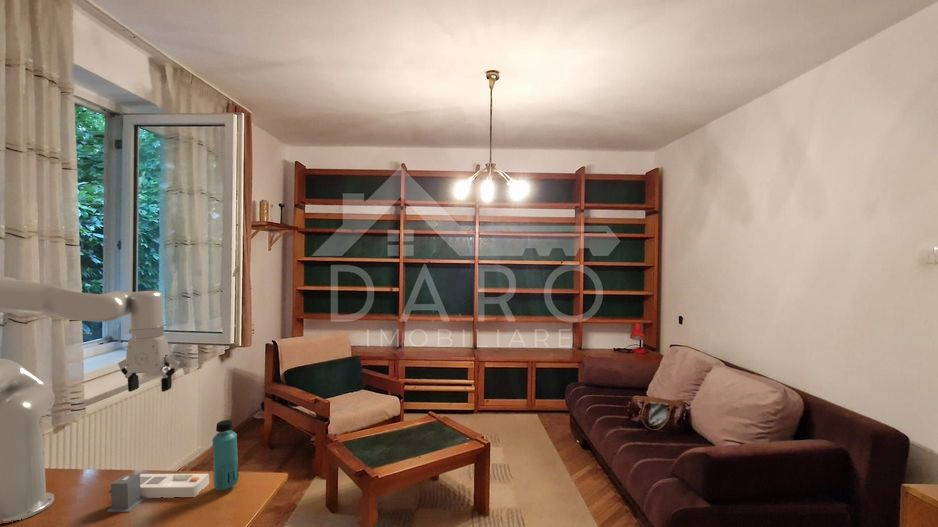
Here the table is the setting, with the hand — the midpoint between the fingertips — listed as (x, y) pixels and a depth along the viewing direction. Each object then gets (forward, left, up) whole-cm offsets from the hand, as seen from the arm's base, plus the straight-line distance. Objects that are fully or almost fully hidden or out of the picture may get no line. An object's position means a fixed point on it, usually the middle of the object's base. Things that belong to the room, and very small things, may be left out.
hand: (150, 390), depth 125 cm
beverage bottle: (+22, +9, -28) cm, 37 cm away
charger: (+6, -9, -28) cm, 30 cm away
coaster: (+6, -9, -28) cm, 30 cm away
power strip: (+5, -2, -28) cm, 29 cm away
